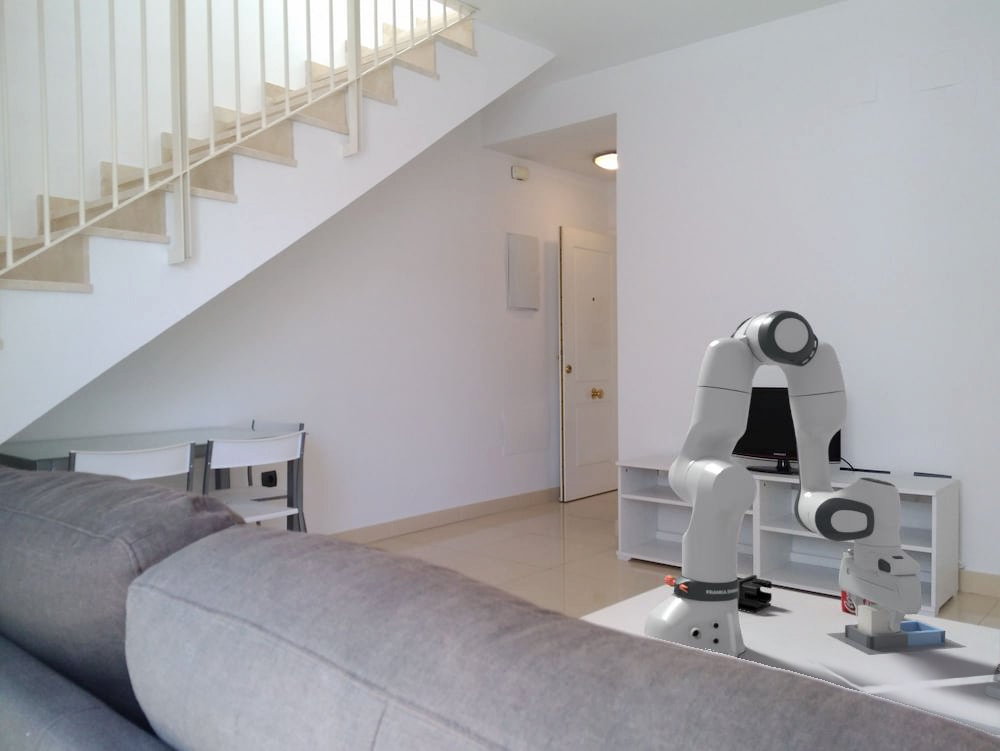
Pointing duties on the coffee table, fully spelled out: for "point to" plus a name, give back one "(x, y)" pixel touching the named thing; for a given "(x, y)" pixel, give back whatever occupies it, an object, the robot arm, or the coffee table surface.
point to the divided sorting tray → (897, 639)
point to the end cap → (753, 594)
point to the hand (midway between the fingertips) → (877, 623)
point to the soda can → (850, 603)
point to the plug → (874, 619)
